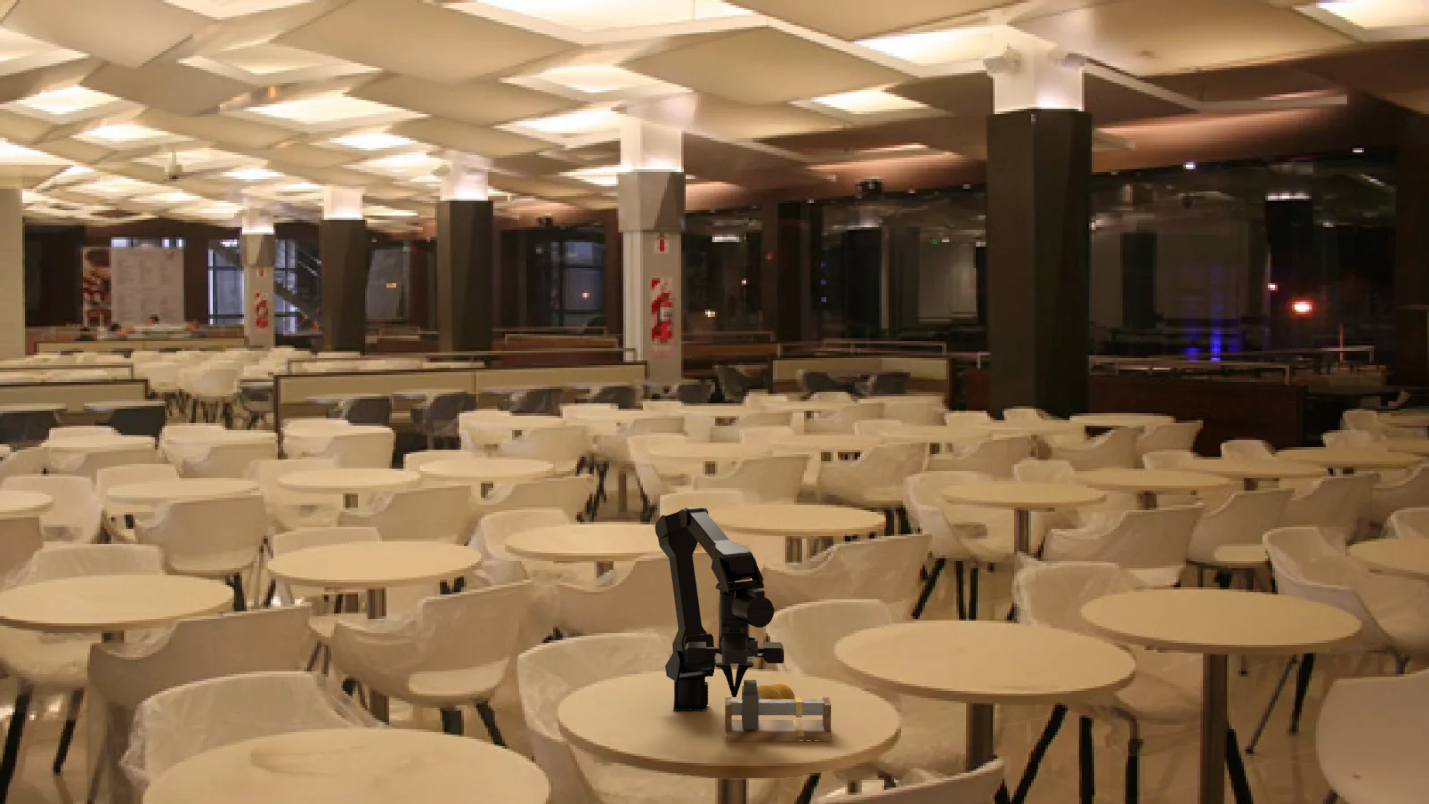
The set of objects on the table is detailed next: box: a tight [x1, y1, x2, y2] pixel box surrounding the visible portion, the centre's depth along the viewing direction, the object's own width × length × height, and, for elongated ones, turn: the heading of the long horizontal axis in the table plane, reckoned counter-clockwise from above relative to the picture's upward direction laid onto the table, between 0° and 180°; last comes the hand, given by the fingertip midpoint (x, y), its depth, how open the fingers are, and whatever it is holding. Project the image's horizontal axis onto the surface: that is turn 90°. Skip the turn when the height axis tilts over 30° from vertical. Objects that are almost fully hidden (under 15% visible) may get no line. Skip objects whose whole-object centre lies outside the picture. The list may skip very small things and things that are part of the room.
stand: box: [724, 696, 833, 742], centre depth 277 cm, size 20×10×6 cm, turn 90°
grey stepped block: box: [741, 679, 760, 729], centre depth 277 cm, size 3×6×8 cm, turn 0°
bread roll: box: [757, 683, 795, 699], centre depth 297 cm, size 8×9×4 cm
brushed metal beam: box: [728, 696, 827, 718], centre depth 277 cm, size 19×3×3 cm, turn 90°
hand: (734, 696), depth 277 cm, fingers closed
